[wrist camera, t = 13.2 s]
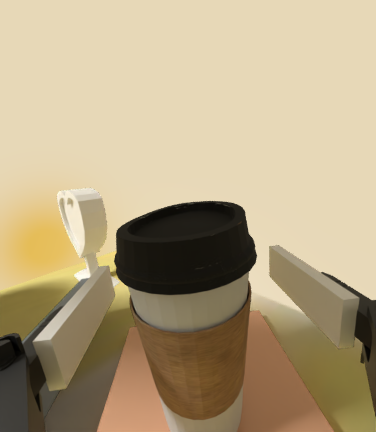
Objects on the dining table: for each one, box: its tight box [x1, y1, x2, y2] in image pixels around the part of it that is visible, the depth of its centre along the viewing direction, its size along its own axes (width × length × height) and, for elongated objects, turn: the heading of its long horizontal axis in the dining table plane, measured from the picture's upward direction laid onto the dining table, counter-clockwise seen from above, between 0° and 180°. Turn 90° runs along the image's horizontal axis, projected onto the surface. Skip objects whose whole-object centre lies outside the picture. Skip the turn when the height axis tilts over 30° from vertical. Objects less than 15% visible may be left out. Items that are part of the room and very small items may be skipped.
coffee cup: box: [114, 201, 257, 432], centre depth 12 cm, size 8×8×15 cm
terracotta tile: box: [97, 310, 334, 432], centre depth 14 cm, size 16×16×1 cm
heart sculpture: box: [57, 188, 119, 287], centre depth 34 cm, size 16×5×18 cm, turn 46°
